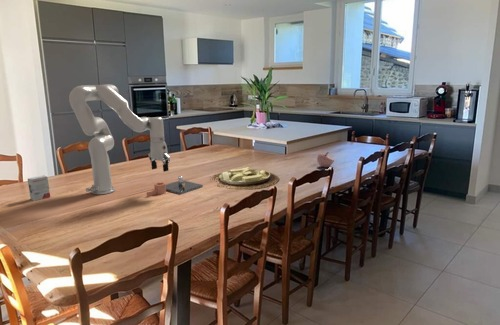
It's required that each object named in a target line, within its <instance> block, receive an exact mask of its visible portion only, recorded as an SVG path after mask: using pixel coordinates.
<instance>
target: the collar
mask: <svg viewBox="0 0 500 325" xmlns="http://www.w3.org/2000/svg"><path fill="white" fill-rule="evenodd" d="M166 185H167V184H166V182H156V183H154V189H152V190H148V191H146V197H152V196H155V195H162V194H166V192H167V191H166Z"/></svg>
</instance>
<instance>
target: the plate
mask: <svg viewBox="0 0 500 325" xmlns="http://www.w3.org/2000/svg"><path fill="white" fill-rule="evenodd" d="M212 180H213V181H215V182H216V184H214V185H215V187H218V188H227V189H228V190H236V191H237V190H240V191H248V190H259V189H260V190H262V189H265V188H267V189H268V188H270V187H272V186H274V185H276V184H278V183H279V181H280V177H279V176H278V175H276V174H274V173H272V172H269V171H268V170H264V169H261V168H250V167H249V166H248V167H243V168H242V167H241V168H237V169H234V168H233V169H229V170H226V171H224V172H223V171H222V172H220V173H217V174H214V175H213V176H211V178H210V179H209V181H212ZM228 186H229V187H228Z"/></svg>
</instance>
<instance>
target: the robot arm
mask: <svg viewBox="0 0 500 325" xmlns="http://www.w3.org/2000/svg"><path fill="white" fill-rule="evenodd" d="M68 101H69V104H70V107H71V109H72V111H73V112H74V114H75V117H76V119H77V121H78V123H79V125H80V128H81V129H82V132H83V133H84V134H85V135H86V136H89V137H91V136H94V137H93V138H91V140H90V141H89V142H88V144H87V147H88V152H89V155H90V156H89V157H90V162H91V171H92V172H91V173H92V181H93V184H91V186H90V187H86V188H85V191H86V192H91V194H93V195H107V194H111V193H114V192H115V191H116V188H115V187H114V186H113V185H112V184H113V182H112V173H111V172H112V171H111V163H110V156H109V153H108V151H111V150H112V149H113V148H114V146H115V139H114V137H113V134H112V133H111V130H110V128H109V126H108V124H107V122H106V121H105V120H104V119H103V118H102V117H99V116H95V115H94V113H93V110H92V109H91V107H90V106H89V104H87V102H89V101H90V102H92V101H101V102H103V103H105V105H107V106H108V107H109V108H110V109H112V110H113V111H114V112H115V113H116V114H117V116H118V117H119V119H120V120H121V121H122V123H123V124H125V125H126V126H127V127H128V128H129V129H130V130H132V131H133V132H136V133H143V132H145V131H149V138H150V145H149V149H150V152H149V153H148V154H147V155H148V158H149V160H150V162H149V163H150V164H151V170H157V169H158V166H157V161H159V162H162V163H163V164H162V171H163V172H164V173H165V172H169V163H170V160H171V156H170V155H169V152H168V151H169V150H168V146H167V143H166V141H165V139H166V138H165V128H164V127H165V126H164V119H163V117H161V116H160V117H159V116H156V117H150V116H148V117H147V116H141V117H139V116H138V115H136V114H135V113H134V112H133V111H132V110H131V109H130V106H129V100H127V99H125V98H124V97H123V96H122V95H120V91H119V88H118V87H117V86H115V85H114V84H111V83H110V84H109V83H108V84H105V83H104V84H85V85H84V84H83V85H78V86H75V87H74V88H73V89H72V90H71V91H70V93H69V96H68Z"/></svg>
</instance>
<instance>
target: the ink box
mask: <svg viewBox="0 0 500 325" xmlns="http://www.w3.org/2000/svg"><path fill="white" fill-rule="evenodd" d="M27 184H28V185H27V186H28V190H29V197H30V200H31V201H33V202H34V201H35V202H36V201H39V200H43V199H47V198H51V190H50V186H49V185H50V184H49V178H48V176H46V175H44V174H43V175H39V176H33V177H28V178H27Z"/></svg>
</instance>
